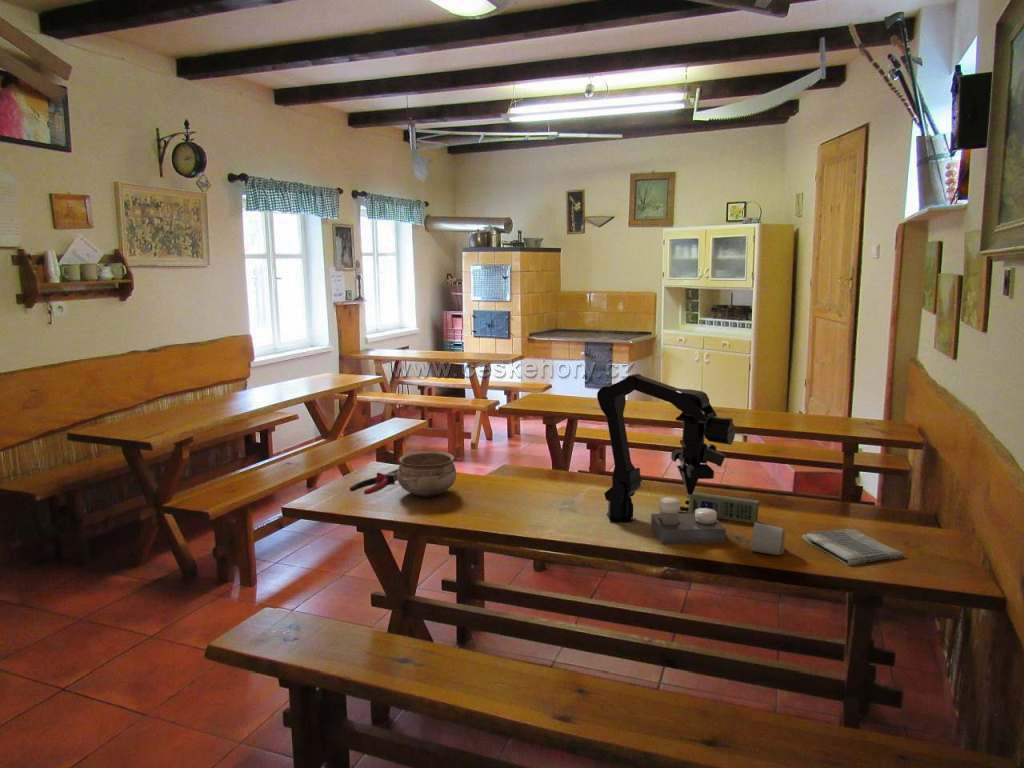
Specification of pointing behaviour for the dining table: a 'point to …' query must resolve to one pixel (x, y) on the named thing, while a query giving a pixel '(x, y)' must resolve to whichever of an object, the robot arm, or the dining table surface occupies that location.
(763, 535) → the block
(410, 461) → the cooking pot
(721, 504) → the handheld radio
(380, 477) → the pliers
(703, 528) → the mount
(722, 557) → the dining table surface
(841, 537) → the dish towel
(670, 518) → the knob
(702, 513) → the knob
